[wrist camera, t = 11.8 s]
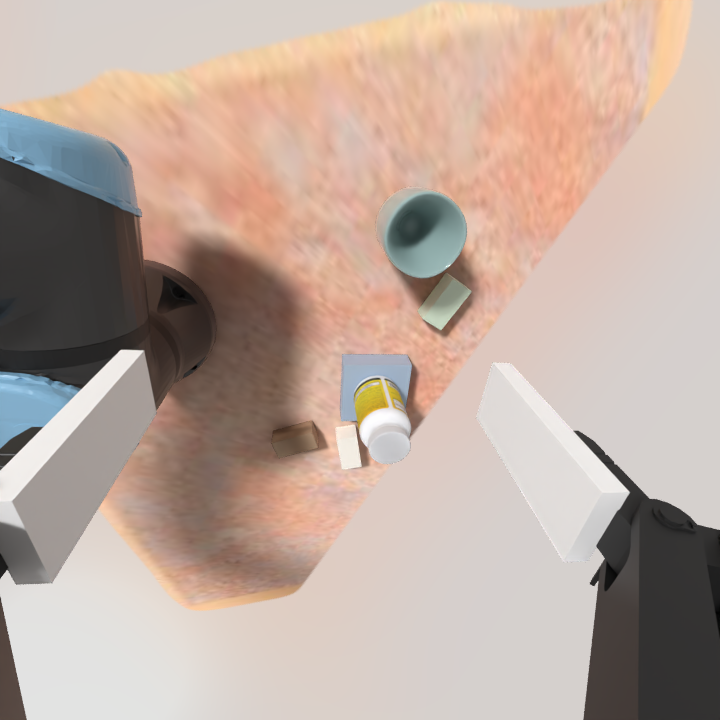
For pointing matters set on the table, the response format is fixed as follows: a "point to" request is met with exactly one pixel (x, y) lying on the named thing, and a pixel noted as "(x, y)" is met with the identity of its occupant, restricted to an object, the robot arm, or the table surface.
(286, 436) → the walnut brick
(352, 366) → the slab
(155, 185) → the table surface
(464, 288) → the sage brick
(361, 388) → the pill bottle
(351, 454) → the cream brick
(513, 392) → the robot arm
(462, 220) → the cup
